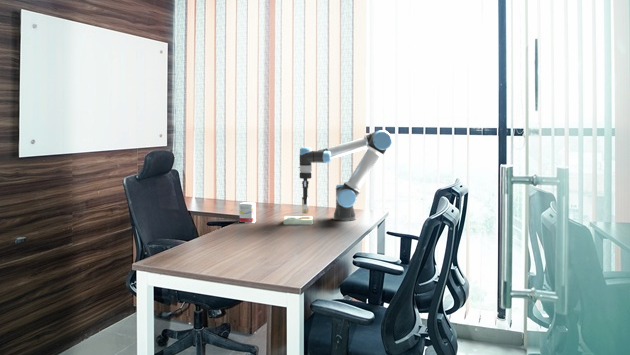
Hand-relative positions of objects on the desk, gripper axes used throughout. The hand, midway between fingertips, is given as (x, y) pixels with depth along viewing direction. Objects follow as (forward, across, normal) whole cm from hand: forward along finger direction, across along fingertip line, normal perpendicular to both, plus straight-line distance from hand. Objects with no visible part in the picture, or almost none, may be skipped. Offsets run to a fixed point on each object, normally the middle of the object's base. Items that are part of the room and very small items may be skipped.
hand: (305, 208), depth 308 cm
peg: (+3, 0, 0) cm, 3 cm away
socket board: (+9, 0, -4) cm, 10 cm away
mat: (+9, -3, -37) cm, 39 cm away
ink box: (+9, -3, -37) cm, 38 cm away
